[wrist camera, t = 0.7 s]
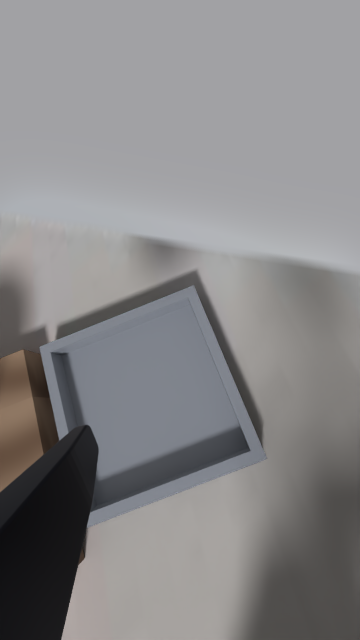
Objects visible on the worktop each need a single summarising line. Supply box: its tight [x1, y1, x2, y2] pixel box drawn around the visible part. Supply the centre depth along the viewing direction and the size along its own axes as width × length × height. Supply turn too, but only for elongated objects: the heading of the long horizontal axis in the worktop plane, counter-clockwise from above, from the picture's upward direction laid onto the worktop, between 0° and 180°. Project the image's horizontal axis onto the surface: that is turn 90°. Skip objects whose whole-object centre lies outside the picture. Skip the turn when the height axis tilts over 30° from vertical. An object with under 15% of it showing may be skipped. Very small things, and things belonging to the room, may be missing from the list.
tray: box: [39, 285, 267, 528], centre depth 23 cm, size 14×14×2 cm
